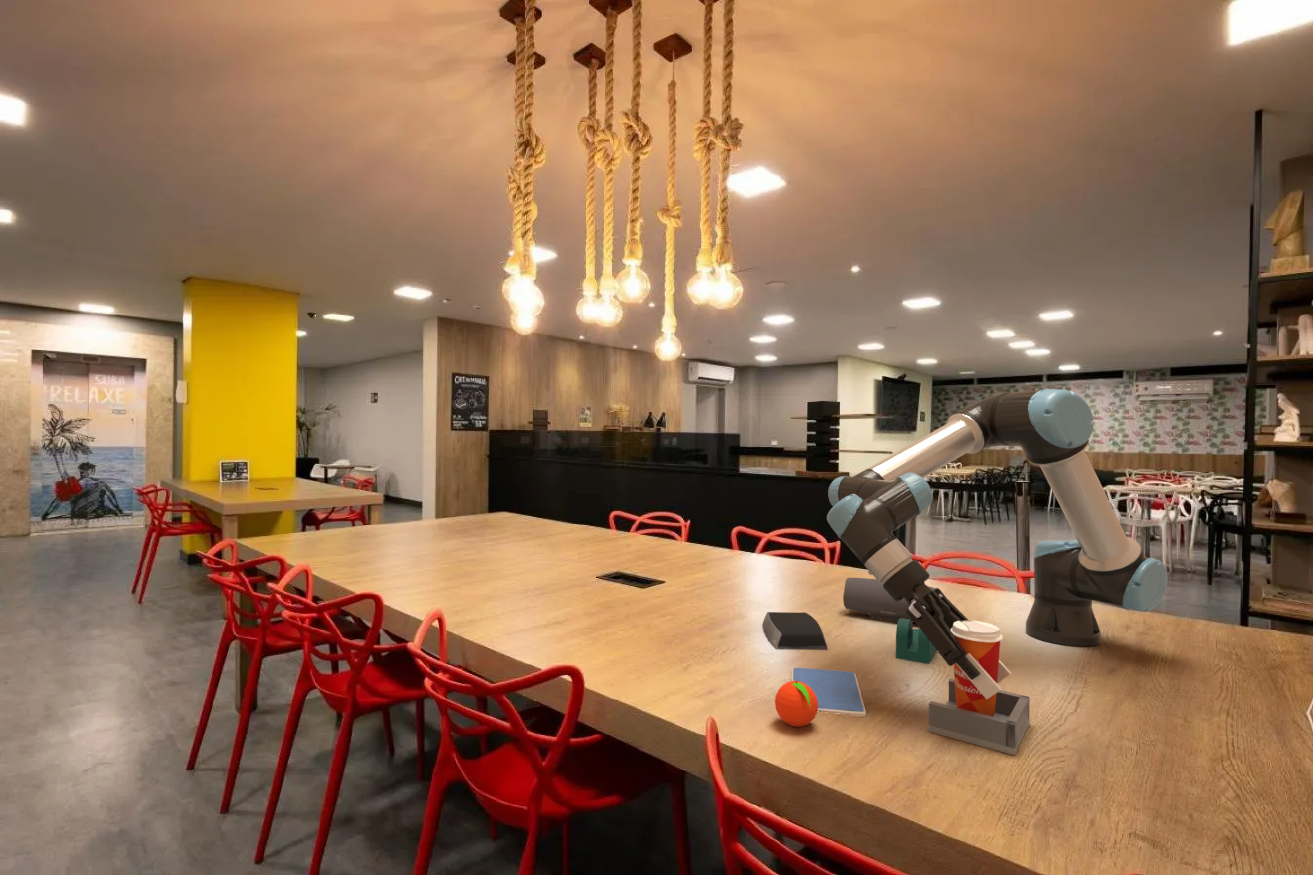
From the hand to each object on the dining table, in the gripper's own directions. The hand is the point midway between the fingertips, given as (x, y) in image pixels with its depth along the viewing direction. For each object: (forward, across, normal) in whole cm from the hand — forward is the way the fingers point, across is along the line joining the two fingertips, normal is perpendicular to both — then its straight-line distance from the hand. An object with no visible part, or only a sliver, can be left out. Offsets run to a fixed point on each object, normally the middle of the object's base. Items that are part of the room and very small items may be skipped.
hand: (999, 685), depth 102 cm
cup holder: (+3, 0, -8) cm, 8 cm away
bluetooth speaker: (-19, -54, -30) cm, 64 cm away
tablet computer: (-14, +2, -26) cm, 30 cm away
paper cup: (+1, 0, -6) cm, 6 cm away
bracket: (-10, -34, -21) cm, 41 cm away
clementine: (-13, +18, -24) cm, 33 cm away
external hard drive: (-28, -24, -40) cm, 54 cm away
